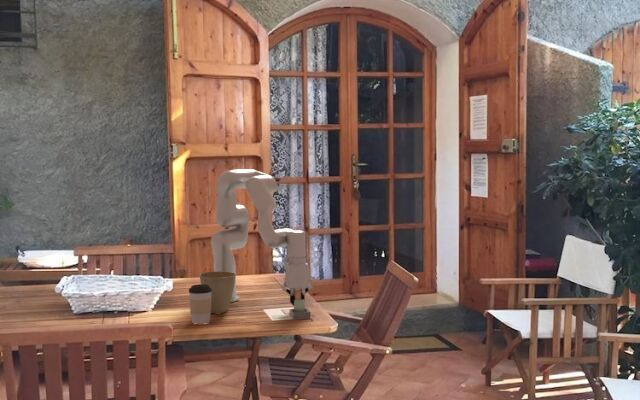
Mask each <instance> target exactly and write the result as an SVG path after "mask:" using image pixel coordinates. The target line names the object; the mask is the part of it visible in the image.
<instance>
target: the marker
mask: <svg viewBox="0 0 640 400" xmlns="http://www.w3.org/2000/svg"><path fill="white" fill-rule="evenodd" d="M293 294H294V297H295V300H296V299H301V288H298V289H294V292H293Z"/></svg>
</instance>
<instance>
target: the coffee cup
mask: <svg viewBox="0 0 640 400" xmlns="http://www.w3.org/2000/svg"><path fill="white" fill-rule="evenodd" d="M211 289H212V288H210V287H209V285H204V284H201V283H199V284H194V285H191V286H190V287H189V289H188V294H189V297H188V299H189V307H190V310H189V311H190V313H191V323H197V324H203V325H205V324H204V323H208V324H210V323H211V313H210V312H211V291H212V290H211ZM209 322H210V323H209Z"/></svg>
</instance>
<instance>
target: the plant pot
mask: <svg viewBox="0 0 640 400" xmlns="http://www.w3.org/2000/svg"><path fill="white" fill-rule="evenodd" d="M236 275H237V273H236V274H235V273H233V272H224V271H216V272H214V271H208V272H203V273H200V274H199V280H200V284H204V285H209V287H210V288H212V289H211V290H212V291H211V312H210V314H212V313H215V314H214V315H221V313H222V314H223V313H226V312H227V311H228V310H229V308H230V304H231V303H232V302H231V298H232V294H233V289H234V284H235V277H236ZM236 278H237V277H236Z"/></svg>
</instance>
